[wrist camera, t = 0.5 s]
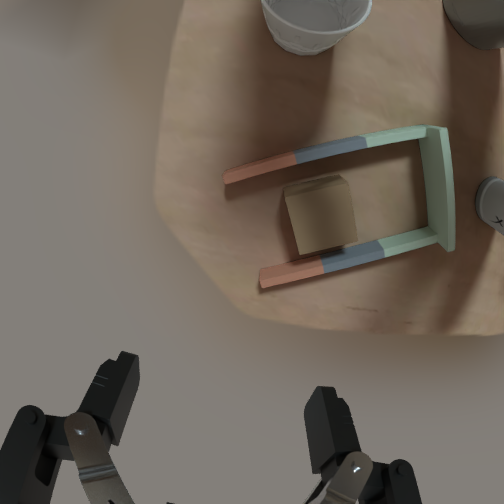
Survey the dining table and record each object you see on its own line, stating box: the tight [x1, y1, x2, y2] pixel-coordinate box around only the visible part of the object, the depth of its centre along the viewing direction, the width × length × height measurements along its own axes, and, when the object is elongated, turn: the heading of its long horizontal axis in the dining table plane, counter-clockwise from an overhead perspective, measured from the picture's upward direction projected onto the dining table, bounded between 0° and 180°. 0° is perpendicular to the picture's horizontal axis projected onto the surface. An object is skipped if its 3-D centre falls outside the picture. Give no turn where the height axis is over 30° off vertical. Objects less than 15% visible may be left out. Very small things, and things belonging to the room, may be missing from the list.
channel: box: [222, 124, 455, 288], centre depth 27 cm, size 22×13×5 cm, turn 108°
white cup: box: [260, 0, 372, 56], centre depth 17 cm, size 8×8×10 cm
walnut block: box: [283, 175, 358, 255], centre depth 28 cm, size 6×6×4 cm
